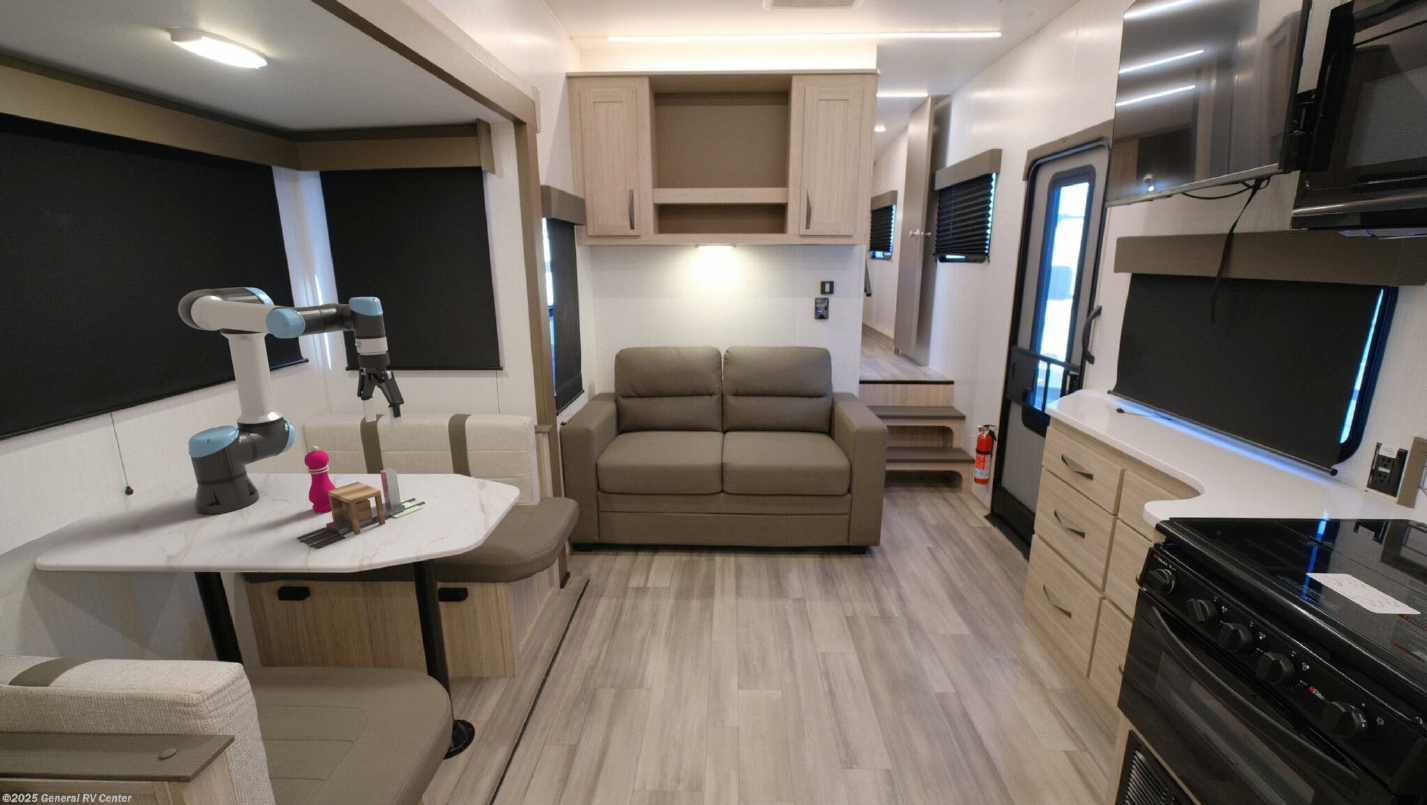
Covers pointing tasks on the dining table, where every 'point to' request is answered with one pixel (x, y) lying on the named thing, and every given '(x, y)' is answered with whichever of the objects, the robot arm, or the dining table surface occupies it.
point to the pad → (406, 510)
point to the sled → (389, 506)
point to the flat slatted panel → (321, 538)
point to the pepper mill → (319, 480)
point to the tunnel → (354, 502)
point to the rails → (360, 526)
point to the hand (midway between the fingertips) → (384, 424)
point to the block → (358, 510)
